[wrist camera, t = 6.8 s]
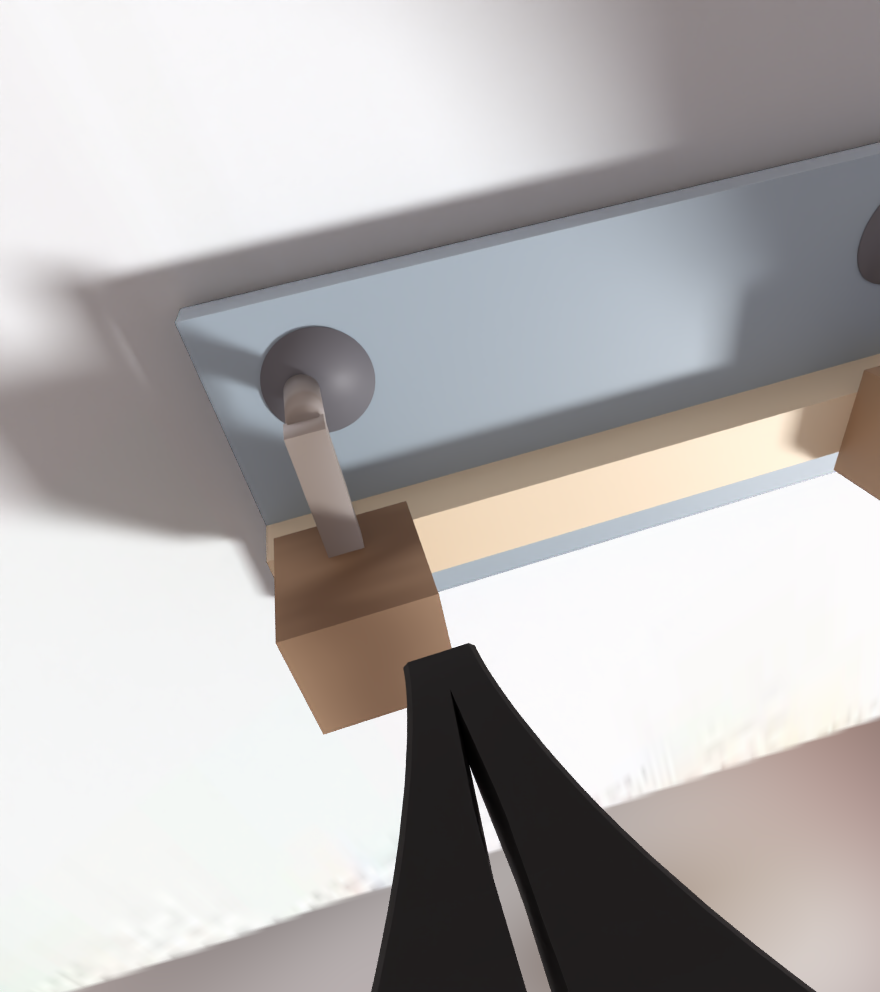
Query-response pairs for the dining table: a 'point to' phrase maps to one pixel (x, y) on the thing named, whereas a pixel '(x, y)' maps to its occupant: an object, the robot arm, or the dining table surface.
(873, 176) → the gauge board
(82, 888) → the dining table surface
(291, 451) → the slider
